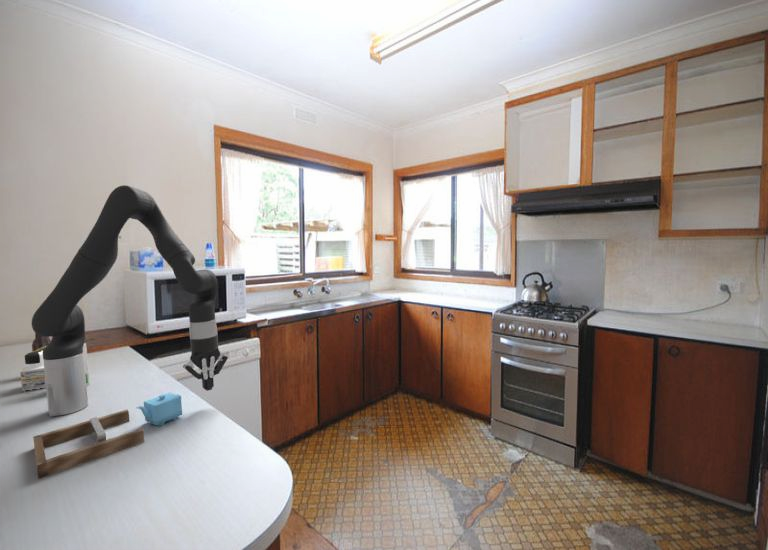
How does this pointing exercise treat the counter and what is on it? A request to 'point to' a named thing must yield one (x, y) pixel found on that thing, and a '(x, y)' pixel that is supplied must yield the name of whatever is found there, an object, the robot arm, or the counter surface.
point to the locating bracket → (87, 452)
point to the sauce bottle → (40, 343)
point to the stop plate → (97, 430)
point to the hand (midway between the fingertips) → (208, 389)
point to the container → (33, 371)
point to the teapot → (162, 408)
